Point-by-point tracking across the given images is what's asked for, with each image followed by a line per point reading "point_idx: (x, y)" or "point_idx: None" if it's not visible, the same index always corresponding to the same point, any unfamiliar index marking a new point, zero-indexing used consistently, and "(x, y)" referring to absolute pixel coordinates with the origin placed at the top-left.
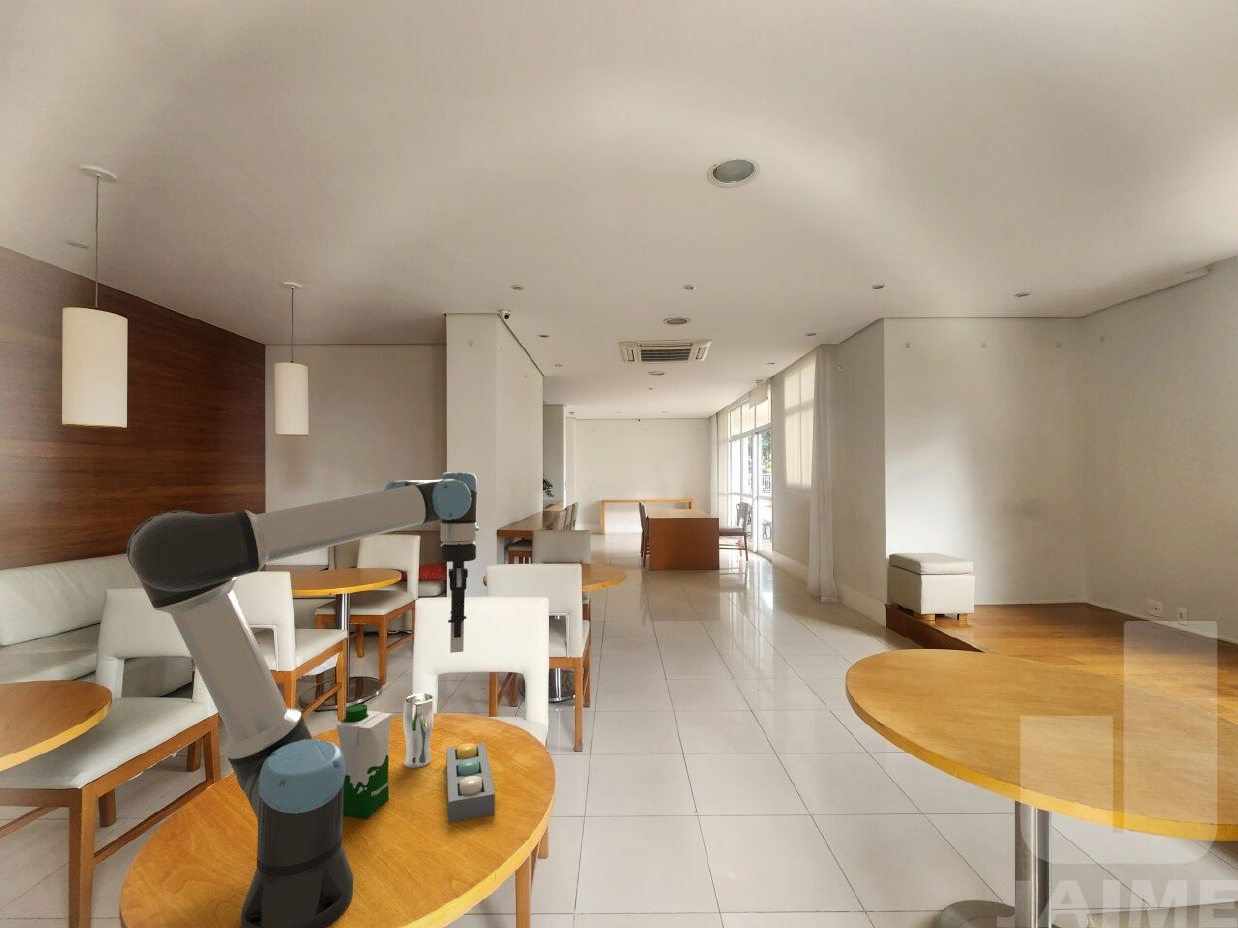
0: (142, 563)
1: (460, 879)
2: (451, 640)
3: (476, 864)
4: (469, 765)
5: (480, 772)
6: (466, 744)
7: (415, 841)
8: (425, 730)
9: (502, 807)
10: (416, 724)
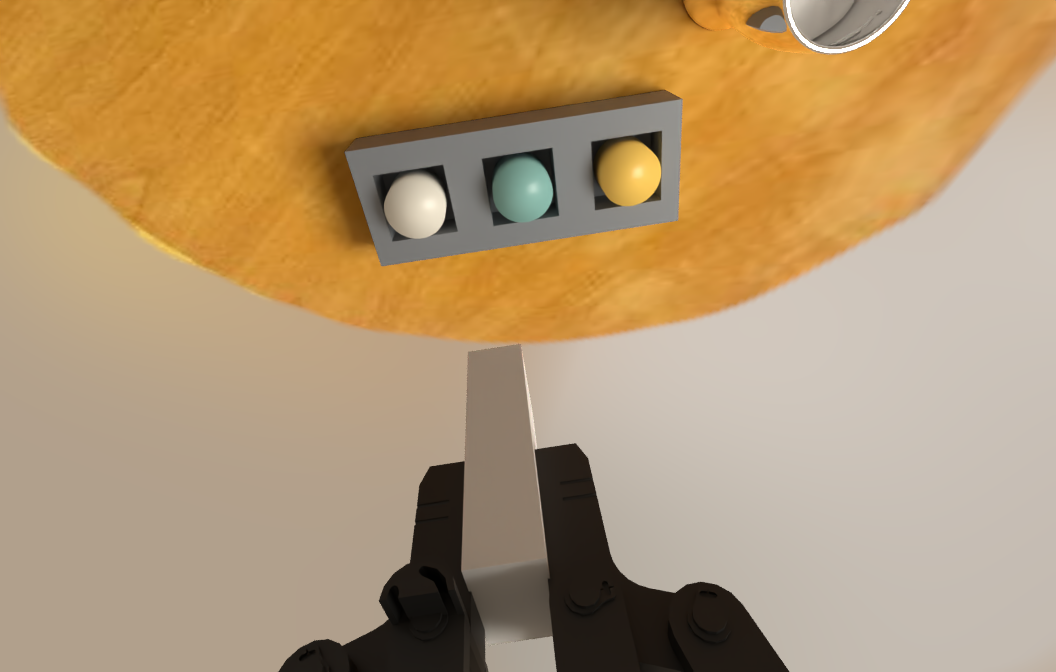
0: None
1: (147, 193)
2: (466, 420)
3: (201, 221)
4: (510, 196)
5: None
6: (653, 173)
7: (271, 61)
8: (730, 18)
9: None
10: None
